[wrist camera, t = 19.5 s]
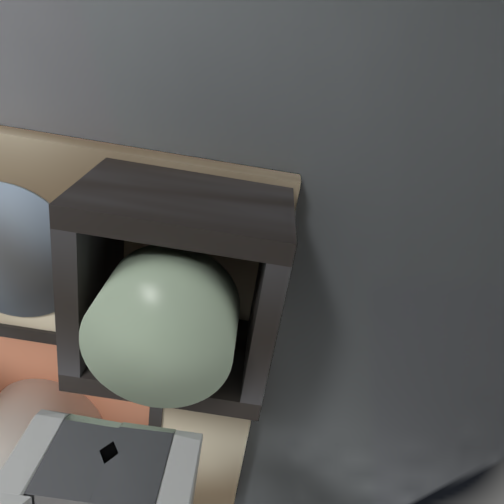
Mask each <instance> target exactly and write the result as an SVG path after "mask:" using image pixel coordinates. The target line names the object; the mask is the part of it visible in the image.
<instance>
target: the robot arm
mask: <svg viewBox="0 0 504 504" xmlns="http://www.w3.org/2000/svg"><path fill="white" fill-rule="evenodd" d="M202 440H203V434H201V433H194V432H188V431H181V430H176V429H170V428H163V427H155V426H148V425H141V424H134V423H126V422H123V423H120V422H114V421H109V420H103V419H98V418H92V417H86V416H81V415H75V414H70V413H69V414H68V413H62V412H56V411H50V410H44V409H41V410H40V411H39V412H38V413H37V414H36V415H35V416H34V417H33V418H32V420H31V421H30V423H29V425H28V426H27V428H26V429H25V431H24V433H23V434H22V436H21V437H20V439H19V441H18V442H17V444H16V446H15V447H14V449H13V450H12V452H11V454H10V455H9V457H8V458H7V460H6V462H5V463H4V465H3V466H2V468H1V470H0V504H193V501H194V494H195V487H196V481H197V474H198V467H199V460H200V454H201V447H202Z"/></svg>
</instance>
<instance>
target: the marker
mask: <svg viewBox="0 0 504 504" xmlns="http://www.w3.org/2000/svg"><path fill="white" fill-rule="evenodd" d="M41 409H44V410H50V411H56V412H62V413H68V414H69V413H70V414H75V415H81V416H86V417H92V418H98V419H102V418H101V415H100V413H99V411H98V410H97V408H96V407H95V406H94V404H93V403H92V402H91V401H90V400H89V399H88V398H87V397H85V396H84V395H83V394H77V393H70V392H64V391H59V382H56V381H52V380H47V379H25V380H20V381H17V382H14V383H12V384H10V385H8V386H7V387H5V388H4V389H3V390H2V391H1V392H0V470H1V468H2V466H3V465H4V463H5V462H6V460H7V458H8V457H9V455H10V454H11V452H12V450H13V449H14V447H15V446H16V444H17V442H18V441H19V439H20V437H21V436H22V434H23V433H24V431H25V429H26V428H27V426H28V425H29V423H30V421H31V420H32V418H33V417H34V416H35V415H36V414H37V413H38V412H39V411H40V410H41Z"/></svg>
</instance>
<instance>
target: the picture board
mask: <svg viewBox="0 0 504 504" xmlns="http://www.w3.org/2000/svg"><path fill="white" fill-rule="evenodd" d="M300 186H301V177H300V174H294V173H288V172H282V171H276V170H270V169H264V168H258V167H252V166H245V165H239V164H233V163H227V162H221V161H215V160H209V159H203V158H197V157H191V156H185V155H178V154H172V153H166V152H160V151H154V150H148V149H142V148H136V147H130V146H124V145H118V144H112V143H105V142H99V141H93V140H87V139H81V138H75V137H69V136H63V135H57V134H51V133H45V132H38V131H32V130H26V129H20V128H14V127H8V126H2V125H0V392H1V391H2V390H3V389H4V388H5V387H7V386H8V385H10V384H12V383H14V382H17V381H20V380H25V379H47V380H52V381H56V382H59V391H64V392H70V393H77V394H83V395H84V396H85V397H87V398H88V399H89V400H90V401H91V402H92V403H93V404H94V406H95V407H96V408H97V410H98V411H99V413H100V415H101V418H102V419H103V420H109V421H114V422H120V423H123V422H126V423H134V424H141V425H148V426H155V427H163V428H170V429H176V430H181V431H188V432H194V433H201V434H203V440H202V447H201V454H200V460H199V467H198V474H197V481H196V487H195V494H194V501H193V504H234V500H235V495H236V491H237V486H238V481H239V476H240V472H241V467H242V462H243V457H244V453H245V448H246V443H247V438H248V434H249V429H250V424H251V420H253V421H258V420H259V416H260V411H261V407H262V402H263V398H264V393H265V389H266V384H267V379H268V375H269V370H270V366H271V361H272V357H273V352H274V348H275V343H276V339H277V334H278V329H279V325H280V320H281V316H282V311H283V307H284V302H285V298H286V293H287V289H288V284H289V280H290V275H291V270H292V266H293V261H294V257H295V252H296V248H297V234H296V220H295V210H296V205H297V200H298V196H299V191H300ZM149 245H155V246H161V247H167V248H174V249H180V250H186V251H192V252H199V253H205V254H207V255H209V256H210V257H212V258H213V259H215V260H216V261H217V262H218V263H220V264H221V265H222V266H223V268H224V269H225V270H226V271H227V272H228V273H229V275H230V276H231V278H232V279H233V281H234V283H235V285H236V288H237V290H238V294H239V298H240V314H239V321H238V329H237V336H236V343H235V350H234V358H233V364H232V368H231V371H230V373H229V376H228V378H227V379H226V381H225V382H224V384H223V385H222V386H221V387H220V388H219V390H217V391H216V392H215V393H214V394H213V395H211V396H210V397H208V398H206V399H205V400H203V401H200V402H198V403H196V404H192V405H189V406H185V407H179V408H155V407H148V406H144V405H140V404H137V403H133V402H131V401H128V400H126V399H124V398H122V397H120V396H118V395H116V394H115V393H113V392H112V391H110V390H109V389H107V388H106V387H105V386H104V385H102V384H101V383H100V382H99V381H98V380H97V379H96V378H95V377H94V375H93V374H92V373H91V372H90V370H89V369H88V367H87V365H86V364H85V362H84V359H83V357H82V354H81V351H80V347H79V329H80V325H81V322H82V319H83V317H84V315H85V314H86V312H87V310H88V309H89V307H90V306H91V304H92V303H93V301H94V300H95V298H96V297H97V295H98V294H99V292H100V291H101V289H102V287H103V286H104V284H105V283H106V281H107V280H108V278H109V277H110V275H111V274H112V272H113V271H114V269H115V268H116V266H117V265H118V264H119V263H120V261H121V260H122V259H123V258H125V257H126V256H127V255H128V254H130V253H132V252H133V251H135V250H137V249H140V248H142V247H145V246H149Z"/></svg>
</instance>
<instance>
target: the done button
mask: <svg viewBox="0 0 504 504" xmlns="http://www.w3.org/2000/svg"><path fill="white" fill-rule="evenodd" d="M239 314H240V298H239V294H238V290H237V288H236V285H235V283H234V281H233V279H232V278H231V276H230V275H229V273H228V272H227V271H226V270H225V269H224V268H223V266H222V265H221V264H220V263H218V262H217V261H216V260H215V259H213V258H212V257H210V256H209V255H207V254H205V253H199V252H192V251H186V250H180V249H174V248H167V247H161V246H155V245H149V246H145V247H142V248H140V249H137V250H135V251H133V252H132V253H130V254H128V255H127V256H126V257H125V258H123V259H122V260H121V261H120V263H119V264H118V265H117V266H116V268H115V269H114V271H113V272H112V274H111V275H110V277H109V278H108V280H107V281H106V283H105V284H104V286H103V287H102V289H101V291H100V292H99V294H98V295H97V297H96V298H95V300H94V301H93V303H92V304H91V306H90V307H89V309H88V310H87V312H86V314H85V315H84V317H83V319H82V322H81V325H80V329H79V347H80V351H81V354H82V357H83V359H84V362H85V364H86V365H87V367H88V369H89V370H90V372H91V373H92V374H93V375H94V377H95V378H96V379H97V380H98V381H99V382H100V383H101V384H102V385H104V386H105V387H106V388H107V389H109V390H110V391H112V392H113V393H115V394H116V395H118V396H120V397H122V398H124V399H126V400H128V401H131V402H133V403H137V404H140V405H144V406H148V407H155V408H179V407H185V406H189V405H192V404H196V403H198V402H200V401H203V400H205V399H206V398H208V397H210V396H211V395H213V394H214V393H215V392H216V391H217V390H219V388H220V387H221V386H222V385H223V384H224V382H225V381H226V379H227V378H228V376H229V373H230V371H231V368H232V364H233V358H234V350H235V343H236V336H237V329H238V321H239Z"/></svg>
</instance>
